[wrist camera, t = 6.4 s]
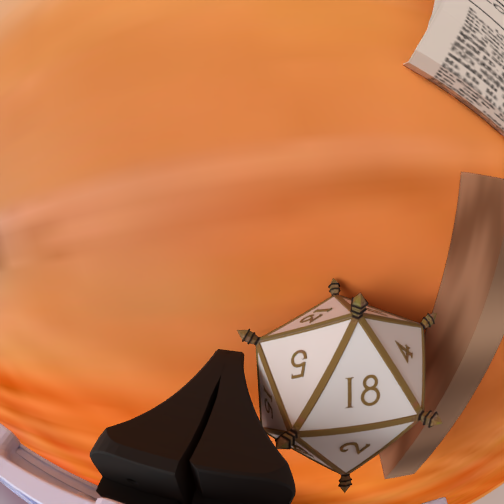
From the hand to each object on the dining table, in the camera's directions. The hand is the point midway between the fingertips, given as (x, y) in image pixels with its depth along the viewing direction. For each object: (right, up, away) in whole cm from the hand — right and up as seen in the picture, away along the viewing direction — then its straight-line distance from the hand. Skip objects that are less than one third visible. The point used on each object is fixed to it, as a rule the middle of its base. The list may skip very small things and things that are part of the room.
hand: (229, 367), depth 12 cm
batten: (+12, 0, +2) cm, 12 cm away
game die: (+5, +1, +2) cm, 6 cm away
